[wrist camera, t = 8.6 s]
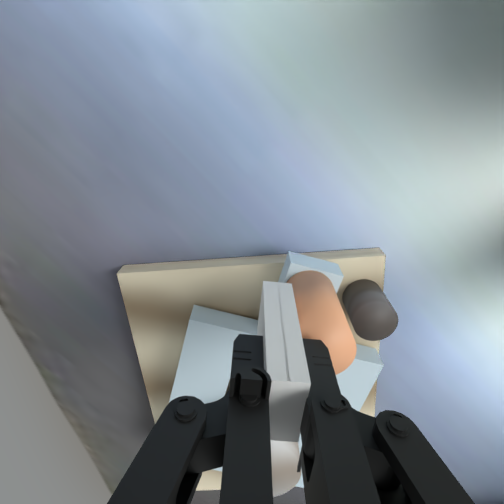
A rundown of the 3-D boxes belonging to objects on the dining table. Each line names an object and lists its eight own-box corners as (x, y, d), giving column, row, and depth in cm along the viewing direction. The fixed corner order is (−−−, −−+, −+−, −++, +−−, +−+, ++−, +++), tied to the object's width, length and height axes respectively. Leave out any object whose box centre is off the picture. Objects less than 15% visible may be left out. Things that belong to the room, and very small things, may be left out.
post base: (123, 265, 23) (71, 330, 17) (379, 247, 22) (428, 309, 16) (175, 477, 31) (153, 577, 24) (365, 469, 30) (394, 570, 24)
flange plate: (314, 469, 28) (329, 573, 22) (160, 438, 27) (132, 538, 21) (409, 282, 22) (469, 355, 15) (212, 230, 20) (192, 287, 14)
